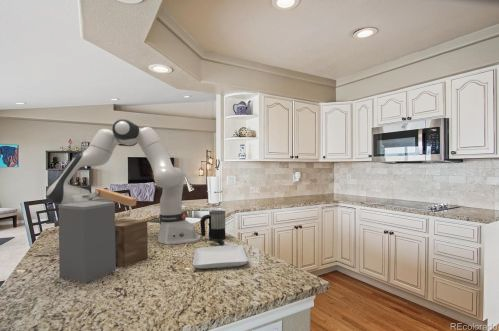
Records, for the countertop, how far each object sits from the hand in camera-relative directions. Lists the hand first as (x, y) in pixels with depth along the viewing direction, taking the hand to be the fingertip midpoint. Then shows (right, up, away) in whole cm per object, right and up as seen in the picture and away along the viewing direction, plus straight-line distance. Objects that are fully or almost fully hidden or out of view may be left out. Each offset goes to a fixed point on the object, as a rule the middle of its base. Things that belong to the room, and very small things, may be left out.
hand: (103, 191), depth 119 cm
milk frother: (+48, -28, +21) cm, 60 cm away
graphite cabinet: (+5, -29, -20) cm, 35 cm away
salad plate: (+53, -28, -8) cm, 61 cm away
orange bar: (+7, -3, -3) cm, 8 cm away
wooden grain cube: (+12, -28, -5) cm, 31 cm away
